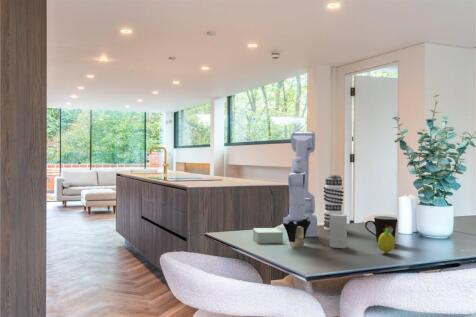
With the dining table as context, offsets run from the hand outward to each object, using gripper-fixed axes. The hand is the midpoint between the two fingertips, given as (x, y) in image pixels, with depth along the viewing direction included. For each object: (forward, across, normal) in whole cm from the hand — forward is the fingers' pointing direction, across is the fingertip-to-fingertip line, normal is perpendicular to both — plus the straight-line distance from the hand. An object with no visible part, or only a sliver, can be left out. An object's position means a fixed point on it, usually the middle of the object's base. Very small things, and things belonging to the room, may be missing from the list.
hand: (296, 240), depth 157 cm
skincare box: (+2, -10, +12) cm, 15 cm away
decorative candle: (+2, -43, -11) cm, 44 cm away
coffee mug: (+2, -29, +19) cm, 35 cm away
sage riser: (+2, 0, -14) cm, 14 cm away
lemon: (+2, -13, +29) cm, 32 cm away
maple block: (+2, 0, 0) cm, 2 cm away
